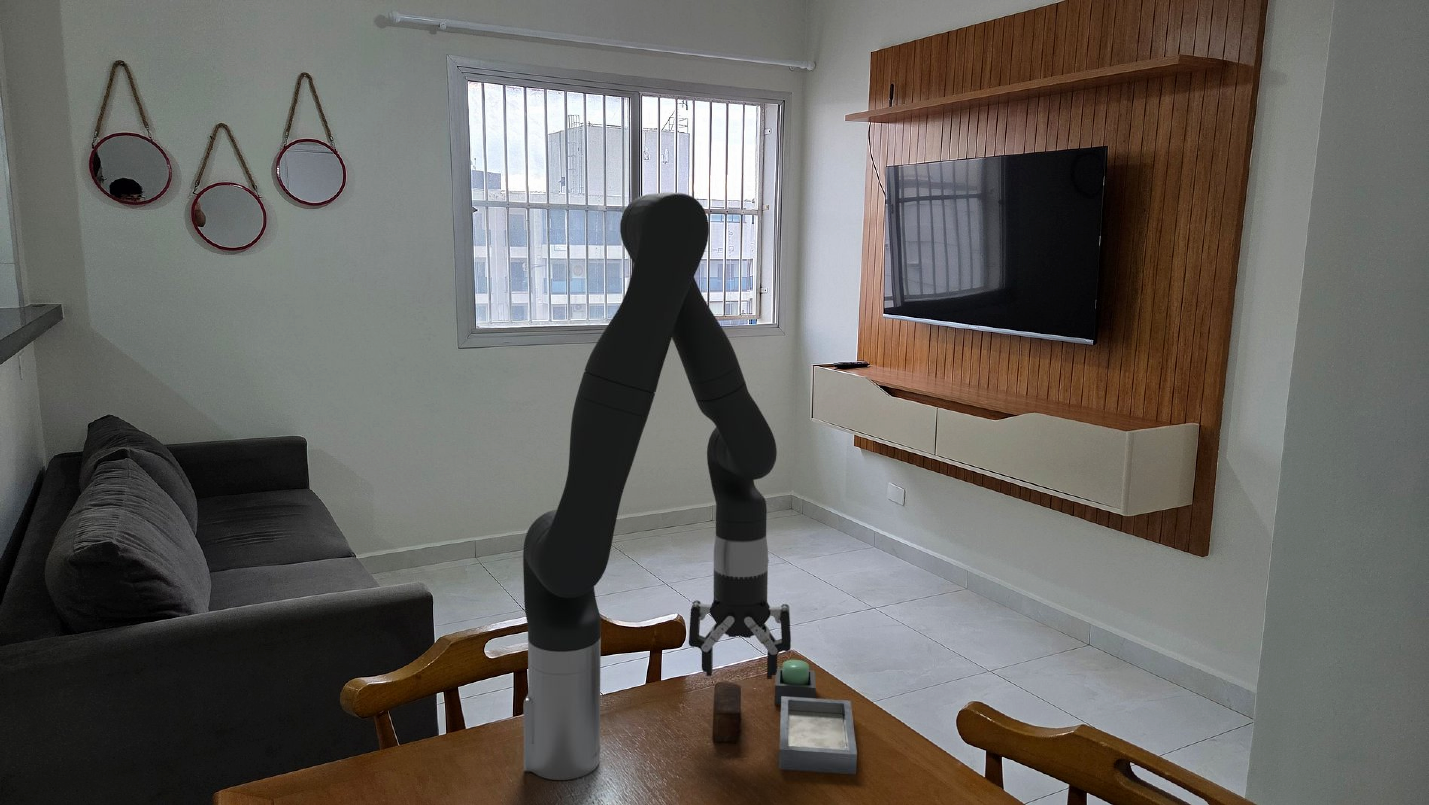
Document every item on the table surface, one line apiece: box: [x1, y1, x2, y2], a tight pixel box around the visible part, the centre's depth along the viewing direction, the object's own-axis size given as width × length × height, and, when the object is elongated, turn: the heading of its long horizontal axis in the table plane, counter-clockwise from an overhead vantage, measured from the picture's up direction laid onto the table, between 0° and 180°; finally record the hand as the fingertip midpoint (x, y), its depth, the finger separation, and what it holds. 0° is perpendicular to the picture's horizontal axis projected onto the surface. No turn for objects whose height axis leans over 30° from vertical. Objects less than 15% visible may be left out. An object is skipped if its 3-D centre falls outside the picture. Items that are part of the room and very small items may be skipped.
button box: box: [774, 667, 817, 706], centre depth 144 cm, size 6×6×3 cm
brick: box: [712, 681, 742, 744], centre depth 134 cm, size 11×4×5 cm, turn 179°
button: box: [782, 659, 810, 685], centre depth 143 cm, size 4×4×2 cm
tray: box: [778, 696, 858, 776], centre depth 130 cm, size 10×15×3 cm, turn 175°
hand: (739, 675), depth 134 cm, fingers open, 8 cm apart
